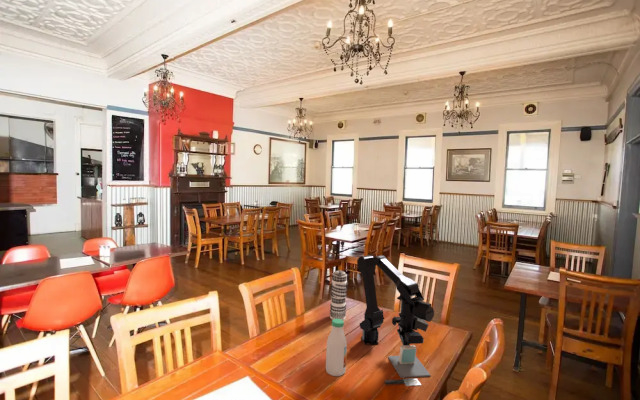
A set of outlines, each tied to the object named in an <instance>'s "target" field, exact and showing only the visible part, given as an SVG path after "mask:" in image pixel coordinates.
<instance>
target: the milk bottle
mask: <svg viewBox="0 0 640 400" xmlns="http://www.w3.org/2000/svg"><path fill="white" fill-rule="evenodd" d="M344 325H345V321H344V320H341V319H331V330H330V333H329V334H328V337H327V341H326V354H325V371H326V373H327V374H328V375H329V376H331V377H341V376H342V375H345V373H346V367H347V348H348V347H347V345H348V343H347V337H346V335H345V331H344Z"/></svg>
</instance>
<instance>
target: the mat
mask: <svg viewBox="0 0 640 400" xmlns="http://www.w3.org/2000/svg"><path fill="white" fill-rule="evenodd" d="M387 358H388V359H389V361H390V363H391V365H392V367H393V368H394V370H395V371H396V373H397V374H398V376H399V377H400V378H399V379H407V378H426V377H428V376H429V377H431V373H430V372H429V371H428V370H427V368H426V367H425V365H424V364H422V362H421V361H420V359H419V358H418V357H417V355H416V356H415V363H408V364H400V362H399V355H388V357H387Z"/></svg>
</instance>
